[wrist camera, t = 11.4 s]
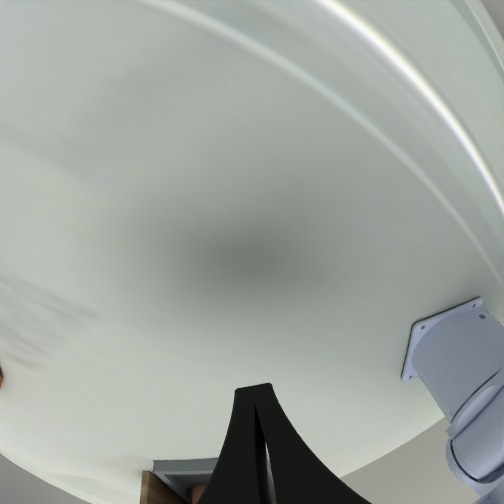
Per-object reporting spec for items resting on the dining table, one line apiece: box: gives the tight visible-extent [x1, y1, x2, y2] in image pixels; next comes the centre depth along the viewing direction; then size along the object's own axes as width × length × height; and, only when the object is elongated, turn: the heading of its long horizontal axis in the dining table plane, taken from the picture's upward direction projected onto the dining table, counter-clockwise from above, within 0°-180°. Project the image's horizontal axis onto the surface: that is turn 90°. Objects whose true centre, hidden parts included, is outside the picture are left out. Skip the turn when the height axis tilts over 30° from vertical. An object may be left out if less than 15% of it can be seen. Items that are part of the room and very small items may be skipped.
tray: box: [153, 458, 276, 504], centre depth 32 cm, size 14×18×2 cm
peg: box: [191, 484, 207, 504], centre depth 31 cm, size 4×4×4 cm
